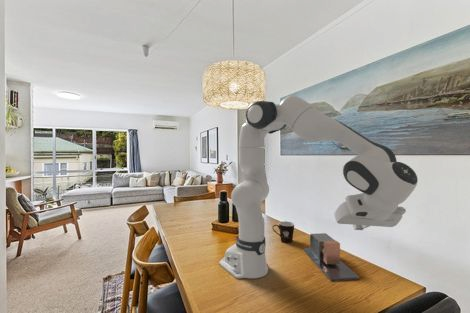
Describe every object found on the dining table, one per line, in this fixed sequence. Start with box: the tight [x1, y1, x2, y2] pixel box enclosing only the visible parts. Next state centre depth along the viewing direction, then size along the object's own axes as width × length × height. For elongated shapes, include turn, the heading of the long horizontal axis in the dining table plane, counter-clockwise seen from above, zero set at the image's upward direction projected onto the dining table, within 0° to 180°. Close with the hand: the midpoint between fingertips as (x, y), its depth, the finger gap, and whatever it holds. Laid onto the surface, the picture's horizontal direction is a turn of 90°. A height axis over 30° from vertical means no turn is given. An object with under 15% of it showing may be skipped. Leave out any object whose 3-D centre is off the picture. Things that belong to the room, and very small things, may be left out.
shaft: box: [322, 240, 341, 264], centre depth 108 cm, size 17×6×9 cm, turn 5°
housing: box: [302, 232, 360, 282], centre depth 105 cm, size 28×12×10 cm, turn 5°
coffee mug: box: [271, 220, 295, 244], centre depth 131 cm, size 12×9×10 cm
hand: (357, 228), depth 81 cm, fingers closed
